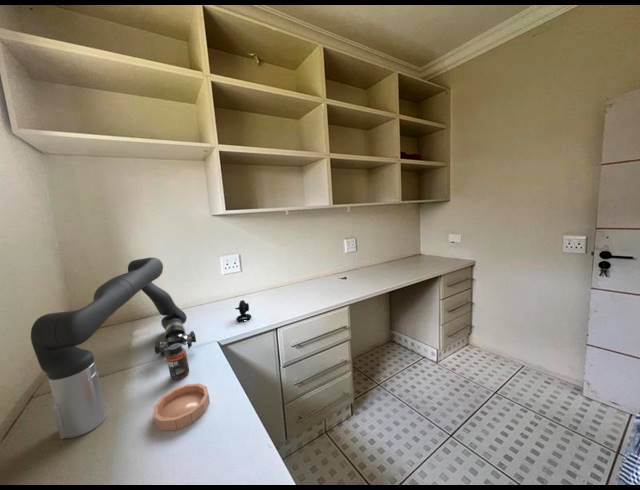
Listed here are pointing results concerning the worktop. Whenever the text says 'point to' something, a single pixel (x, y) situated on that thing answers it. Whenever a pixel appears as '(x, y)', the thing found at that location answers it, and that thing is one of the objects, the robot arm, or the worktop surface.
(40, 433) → the worktop surface
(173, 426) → the bowl
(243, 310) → the webcam
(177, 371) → the supplement bottle
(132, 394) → the worktop surface
